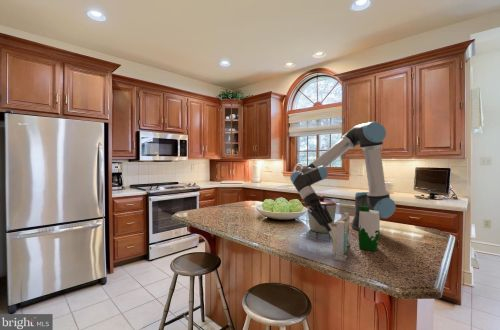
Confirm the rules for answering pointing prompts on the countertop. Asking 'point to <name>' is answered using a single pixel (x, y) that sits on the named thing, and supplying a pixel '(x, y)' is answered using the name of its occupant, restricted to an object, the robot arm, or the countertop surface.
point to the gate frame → (342, 239)
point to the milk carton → (368, 228)
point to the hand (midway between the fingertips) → (335, 236)
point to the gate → (336, 231)
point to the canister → (331, 209)
